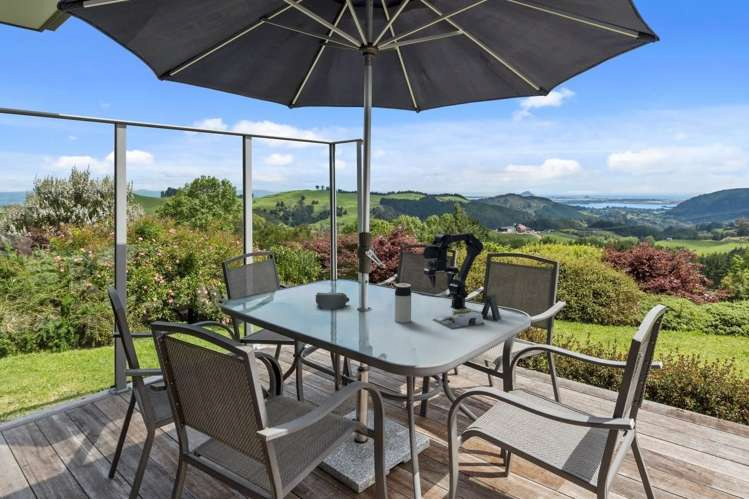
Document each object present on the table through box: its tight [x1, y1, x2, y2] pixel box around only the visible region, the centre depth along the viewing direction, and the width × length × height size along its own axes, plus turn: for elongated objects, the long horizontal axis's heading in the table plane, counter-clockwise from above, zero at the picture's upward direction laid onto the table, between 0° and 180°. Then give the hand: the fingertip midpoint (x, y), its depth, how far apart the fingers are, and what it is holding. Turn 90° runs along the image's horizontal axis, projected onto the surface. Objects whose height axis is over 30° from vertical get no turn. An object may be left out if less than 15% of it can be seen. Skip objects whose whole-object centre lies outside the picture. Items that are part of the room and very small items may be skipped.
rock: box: [314, 291, 350, 309], centre depth 241 cm, size 18×11×8 cm, turn 89°
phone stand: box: [480, 293, 502, 322], centre depth 217 cm, size 9×6×12 cm, turn 54°
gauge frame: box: [432, 311, 486, 330], centre depth 211 cm, size 19×16×5 cm
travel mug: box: [394, 282, 412, 324], centre depth 212 cm, size 8×8×18 cm
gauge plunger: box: [442, 308, 472, 321], centre depth 209 cm, size 16×8×5 cm, turn 115°
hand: (440, 286), depth 230 cm, fingers open, 9 cm apart
